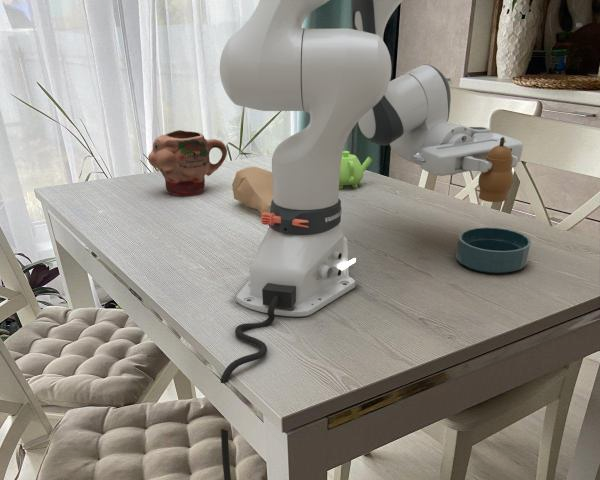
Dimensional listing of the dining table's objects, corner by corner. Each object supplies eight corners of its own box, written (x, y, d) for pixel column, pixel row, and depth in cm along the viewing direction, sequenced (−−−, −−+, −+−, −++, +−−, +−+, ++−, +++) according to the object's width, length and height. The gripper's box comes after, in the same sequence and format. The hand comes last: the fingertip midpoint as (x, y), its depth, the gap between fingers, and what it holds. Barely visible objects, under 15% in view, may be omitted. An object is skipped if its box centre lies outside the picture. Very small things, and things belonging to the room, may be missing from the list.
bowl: (519, 280, 109) (524, 256, 107) (448, 268, 114) (451, 245, 111) (531, 255, 119) (536, 233, 116) (465, 245, 124) (468, 223, 121)
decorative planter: (220, 180, 167) (216, 125, 159) (236, 191, 158) (232, 133, 150) (148, 189, 160) (140, 132, 152) (160, 202, 151) (152, 142, 143)
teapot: (354, 193, 155) (355, 158, 150) (315, 187, 159) (315, 153, 155) (372, 182, 162) (374, 149, 158) (334, 177, 167) (335, 145, 162)
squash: (265, 197, 154) (271, 161, 149) (296, 231, 140) (303, 193, 135) (224, 195, 149) (229, 157, 144) (252, 230, 136) (258, 190, 130)
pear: (506, 204, 108) (517, 142, 102) (472, 200, 110) (481, 139, 104) (512, 195, 112) (523, 135, 106) (480, 191, 115) (489, 132, 109)
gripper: (408, 138, 111) (459, 153, 101) (492, 126, 119) (547, 139, 109) (405, 173, 115) (454, 192, 105) (487, 159, 123) (539, 175, 113)
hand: (502, 165), depth 107 cm, fingers closed on pear, 4 cm apart
